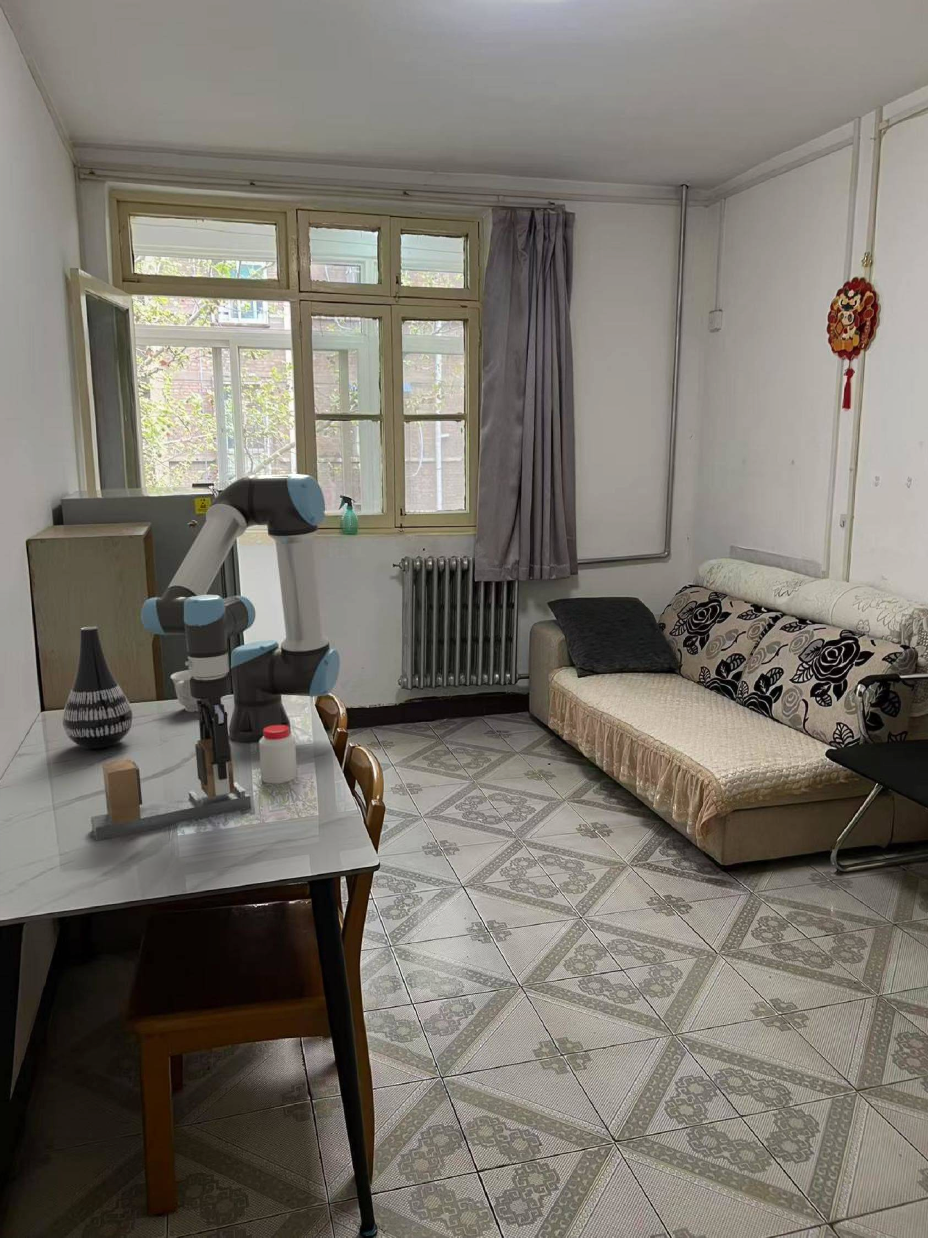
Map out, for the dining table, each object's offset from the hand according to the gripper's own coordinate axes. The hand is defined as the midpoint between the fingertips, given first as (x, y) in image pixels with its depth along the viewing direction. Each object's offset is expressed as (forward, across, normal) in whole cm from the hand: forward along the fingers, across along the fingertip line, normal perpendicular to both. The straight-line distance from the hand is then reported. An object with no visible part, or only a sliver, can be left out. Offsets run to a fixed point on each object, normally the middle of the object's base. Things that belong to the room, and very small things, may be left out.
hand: (218, 788), depth 183 cm
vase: (+4, -57, -14) cm, 59 cm away
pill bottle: (+4, -11, +16) cm, 20 cm away
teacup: (+4, -76, +13) cm, 77 cm away
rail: (+4, 0, -9) cm, 10 cm away
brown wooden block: (0, 0, 0) cm, 0 cm away
